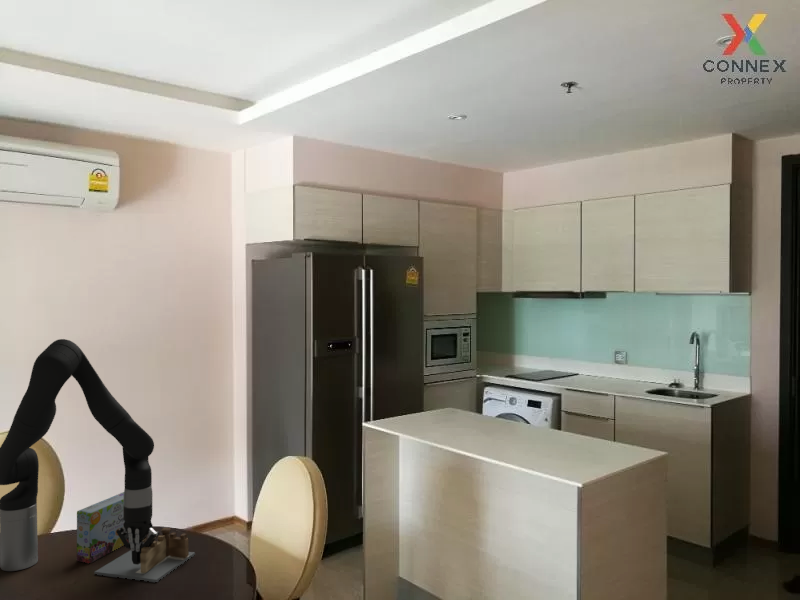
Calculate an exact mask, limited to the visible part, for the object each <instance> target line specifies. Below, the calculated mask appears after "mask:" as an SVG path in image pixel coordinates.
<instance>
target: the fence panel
mask: <svg viewBox="0 0 800 600" xmlns="http://www.w3.org/2000/svg"><path fill="white" fill-rule="evenodd" d="M165 557H166V539H165V535H162V534H159V535H158V537H157V540H155V541H154V542H153V543H152V545H151V546H150V547H143V548H142V549H141V554H140V559H141V572H142V573H146V572H147V571H149V570H150V569H151V568H152V567H154V566H155V565H156V564H157V563H159V562H160V561H161V560H162V559H164V558H165Z"/></svg>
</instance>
